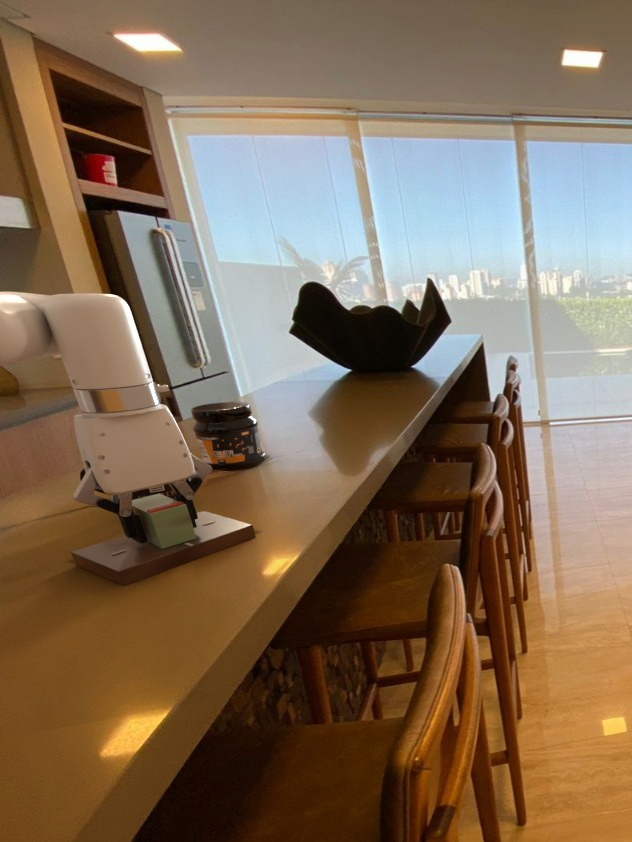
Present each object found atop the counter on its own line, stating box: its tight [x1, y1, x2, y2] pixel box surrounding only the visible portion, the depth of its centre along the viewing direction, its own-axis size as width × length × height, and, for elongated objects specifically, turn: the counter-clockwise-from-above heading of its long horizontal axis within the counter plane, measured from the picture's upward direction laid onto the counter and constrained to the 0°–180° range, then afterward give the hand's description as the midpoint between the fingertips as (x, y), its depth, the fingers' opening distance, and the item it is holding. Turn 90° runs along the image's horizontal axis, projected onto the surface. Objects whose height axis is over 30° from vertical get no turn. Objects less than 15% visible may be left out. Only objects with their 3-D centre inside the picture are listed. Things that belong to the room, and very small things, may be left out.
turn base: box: [70, 510, 257, 586], centre depth 77 cm, size 16×12×2 cm
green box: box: [132, 494, 197, 549], centre depth 76 cm, size 8×4×5 cm, turn 59°
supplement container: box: [190, 401, 267, 472], centre depth 112 cm, size 10×10×12 cm
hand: (164, 531), depth 77 cm, fingers open, 5 cm apart
